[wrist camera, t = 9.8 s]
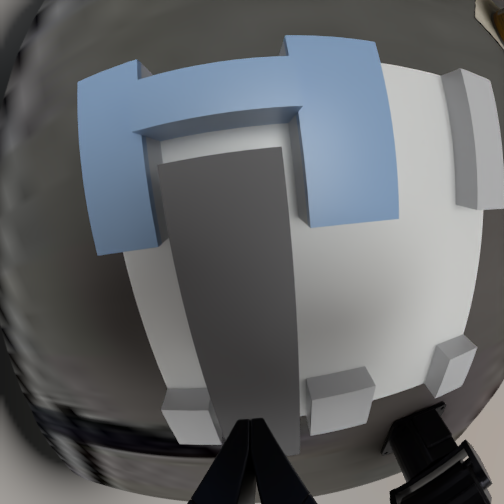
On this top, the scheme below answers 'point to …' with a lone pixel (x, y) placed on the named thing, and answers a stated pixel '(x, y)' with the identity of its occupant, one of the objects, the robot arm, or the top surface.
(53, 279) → the top surface
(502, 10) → the condiment
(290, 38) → the white plate with bars
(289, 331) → the long grey beam
